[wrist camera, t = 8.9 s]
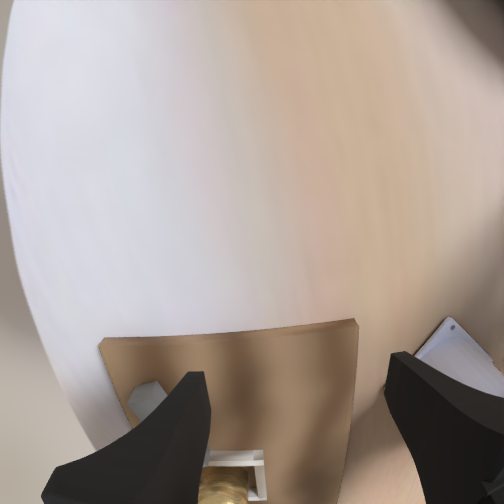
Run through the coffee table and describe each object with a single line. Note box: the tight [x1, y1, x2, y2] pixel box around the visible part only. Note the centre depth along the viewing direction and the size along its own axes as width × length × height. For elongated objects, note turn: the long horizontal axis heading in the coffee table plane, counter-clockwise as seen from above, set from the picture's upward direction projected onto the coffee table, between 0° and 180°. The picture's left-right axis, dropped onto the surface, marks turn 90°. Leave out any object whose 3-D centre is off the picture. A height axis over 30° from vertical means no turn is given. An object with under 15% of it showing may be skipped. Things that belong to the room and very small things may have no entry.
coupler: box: [198, 466, 249, 504], centre depth 20 cm, size 5×4×7 cm
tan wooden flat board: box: [98, 318, 359, 504], centre depth 23 cm, size 18×28×4 cm, turn 6°
